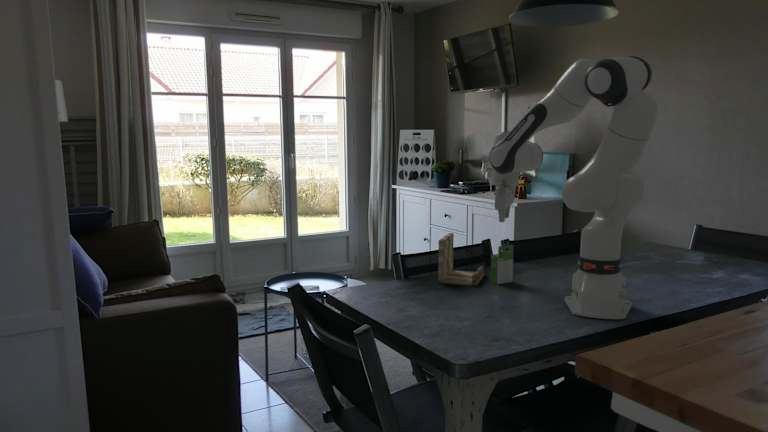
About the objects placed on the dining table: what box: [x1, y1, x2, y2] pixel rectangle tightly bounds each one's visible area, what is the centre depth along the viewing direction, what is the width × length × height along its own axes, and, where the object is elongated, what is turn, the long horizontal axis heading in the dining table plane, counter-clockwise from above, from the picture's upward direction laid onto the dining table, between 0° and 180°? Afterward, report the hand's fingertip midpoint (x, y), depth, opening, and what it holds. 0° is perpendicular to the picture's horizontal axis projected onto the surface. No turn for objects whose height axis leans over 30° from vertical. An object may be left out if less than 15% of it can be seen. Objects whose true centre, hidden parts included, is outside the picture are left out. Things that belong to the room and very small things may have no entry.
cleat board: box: [437, 232, 485, 287], centre depth 200 cm, size 16×13×15 cm
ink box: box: [489, 244, 514, 285], centre depth 195 cm, size 7×4×13 cm, turn 118°
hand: (504, 219), depth 193 cm, fingers open, 8 cm apart
